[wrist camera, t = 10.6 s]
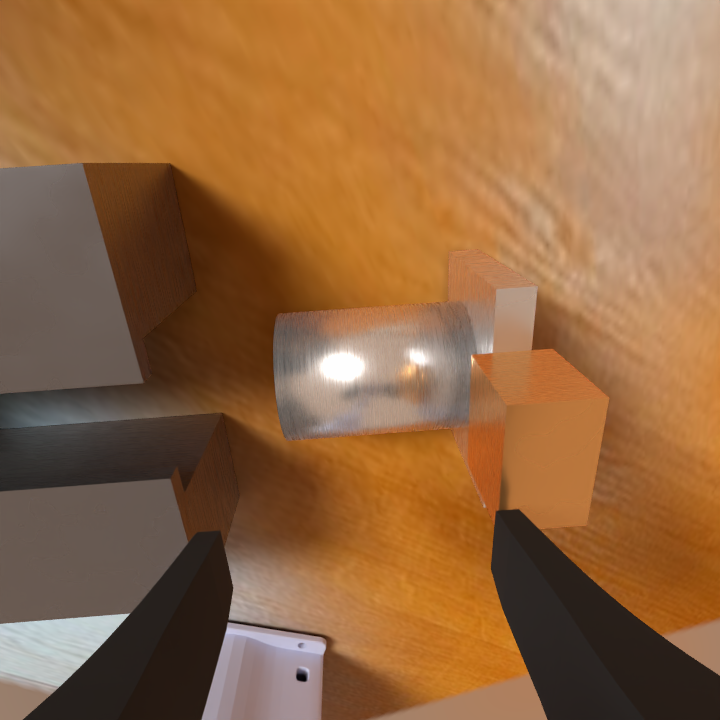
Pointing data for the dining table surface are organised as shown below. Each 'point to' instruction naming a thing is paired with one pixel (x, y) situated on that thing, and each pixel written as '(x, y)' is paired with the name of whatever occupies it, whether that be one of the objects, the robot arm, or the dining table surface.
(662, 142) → the dining table surface
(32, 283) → the housing
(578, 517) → the end cover
